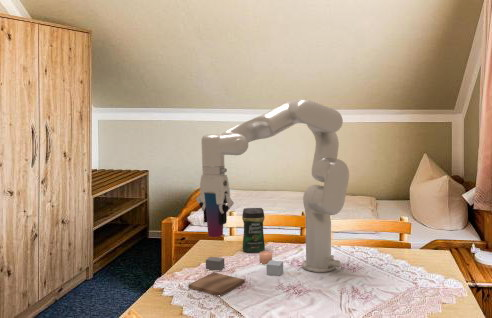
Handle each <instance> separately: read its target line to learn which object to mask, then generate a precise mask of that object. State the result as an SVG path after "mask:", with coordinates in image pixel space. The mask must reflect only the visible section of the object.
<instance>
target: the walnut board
mask: <svg viewBox="0 0 492 318" xmlns="http://www.w3.org/2000/svg"><path fill="white" fill-rule="evenodd" d="M243 283H244V284H246V279H244V278H240V277H235V276H231V275H228V274H222V273H217V272H213V271H212V272H211V273H209V274H207V275H205V276H203V277H201V278H199V279H197V280H195V281H193V282H191V283H189V284H188V286H187V287H189V288H188V289H191V288H192V289H191V290H194V289H195V290H196V291H199V292H202V291H203V292H204V293H207V294H210V295H213V294H215V295H214V296H217V295H220V296H219V297H222V296H224V295H226V294H227V292H228V293H229V292H231V291H233V290H235V289H236V287H237V288H238V287H240V286H243ZM195 290H194V291H195ZM203 292H202V293H203ZM225 293H226V294H225ZM223 294H224V295H223ZM221 295H222V296H221Z"/></svg>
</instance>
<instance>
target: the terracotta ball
mask: <svg viewBox="0 0 492 318" xmlns="http://www.w3.org/2000/svg"><path fill="white" fill-rule="evenodd" d="M270 260H273V252H272V251H270V250H264V251H262V252H259V264H260V263H262V264H267V263H268V262H269V261H270ZM262 264H261V265H262Z"/></svg>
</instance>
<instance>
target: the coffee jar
mask: <svg viewBox="0 0 492 318" xmlns="http://www.w3.org/2000/svg"><path fill="white" fill-rule="evenodd" d="M241 215H242V216H241V217H242V222H243V236H242V251H243V252H246V253H260V252H262V251H265V250H266V248H265V247H266V245H265V243H266V242H265V235H264V220H265V211H264V208H262V207H247V208H243V211H242V214H241Z"/></svg>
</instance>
